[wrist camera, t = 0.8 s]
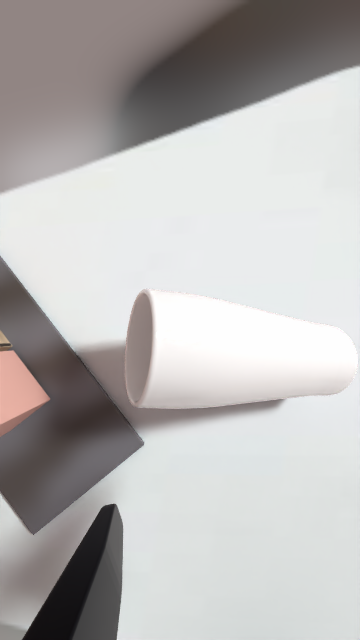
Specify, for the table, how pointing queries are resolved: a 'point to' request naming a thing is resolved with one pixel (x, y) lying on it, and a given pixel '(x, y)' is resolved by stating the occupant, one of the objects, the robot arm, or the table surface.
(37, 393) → the stub
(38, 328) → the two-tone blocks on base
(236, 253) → the table surface
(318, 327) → the drinking glass
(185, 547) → the table surface
